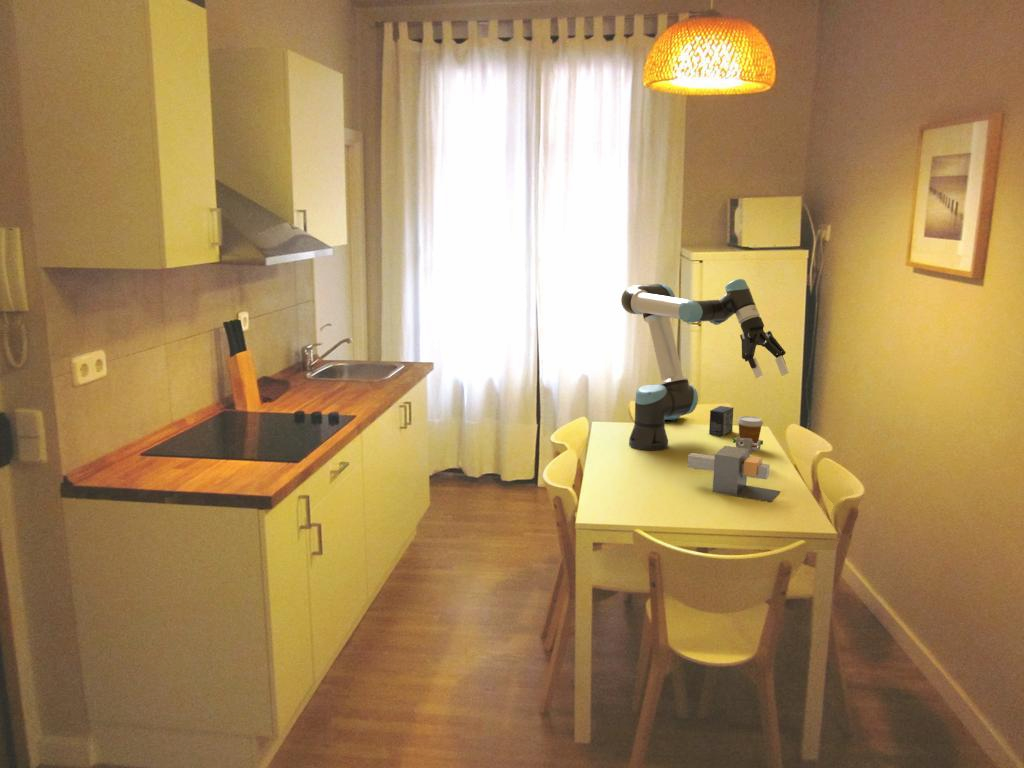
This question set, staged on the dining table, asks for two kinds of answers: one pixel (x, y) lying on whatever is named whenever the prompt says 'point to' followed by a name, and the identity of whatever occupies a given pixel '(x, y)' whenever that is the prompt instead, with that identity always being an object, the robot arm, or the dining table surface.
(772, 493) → the mat
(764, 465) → the shaft
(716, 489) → the block
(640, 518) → the dining table surface
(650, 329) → the robot arm
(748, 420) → the disposable coffee cup
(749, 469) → the block
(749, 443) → the mechanical component
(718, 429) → the small box
